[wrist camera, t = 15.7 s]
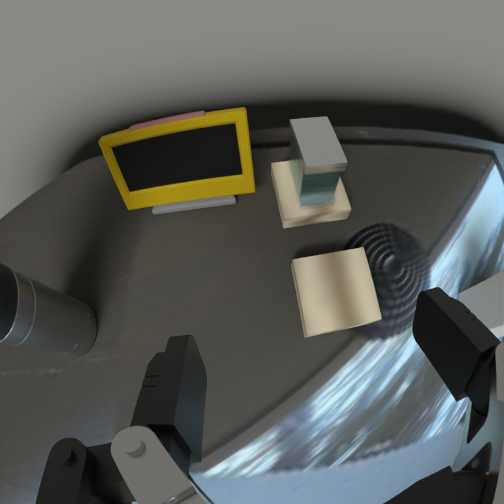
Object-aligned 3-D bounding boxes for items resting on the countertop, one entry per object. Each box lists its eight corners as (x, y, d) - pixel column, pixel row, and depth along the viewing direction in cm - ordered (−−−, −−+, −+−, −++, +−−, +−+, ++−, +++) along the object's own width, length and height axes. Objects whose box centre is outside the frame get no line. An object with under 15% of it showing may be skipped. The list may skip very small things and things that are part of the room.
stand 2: (304, 337, 36) (307, 335, 34) (291, 266, 40) (292, 259, 37) (374, 322, 36) (381, 318, 33) (357, 255, 40) (363, 247, 37)
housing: (300, 210, 40) (306, 166, 31) (288, 166, 43) (289, 119, 33) (333, 206, 40) (347, 162, 30) (319, 162, 43) (327, 116, 33)
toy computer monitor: (136, 220, 45) (89, 163, 30) (141, 182, 48) (102, 121, 33) (257, 204, 44) (248, 132, 30) (252, 165, 47) (243, 91, 32)
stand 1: (283, 228, 42) (283, 218, 40) (271, 174, 46) (271, 163, 43) (347, 218, 42) (351, 209, 39) (329, 167, 46) (332, 156, 43)
